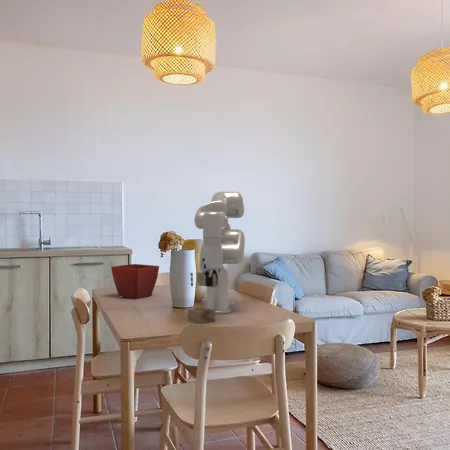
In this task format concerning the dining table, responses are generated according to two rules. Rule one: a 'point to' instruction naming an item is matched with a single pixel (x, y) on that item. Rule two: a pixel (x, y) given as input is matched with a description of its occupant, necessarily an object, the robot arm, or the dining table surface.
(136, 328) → the dining table surface
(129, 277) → the plant pot
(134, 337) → the dining table surface
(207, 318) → the tan box
